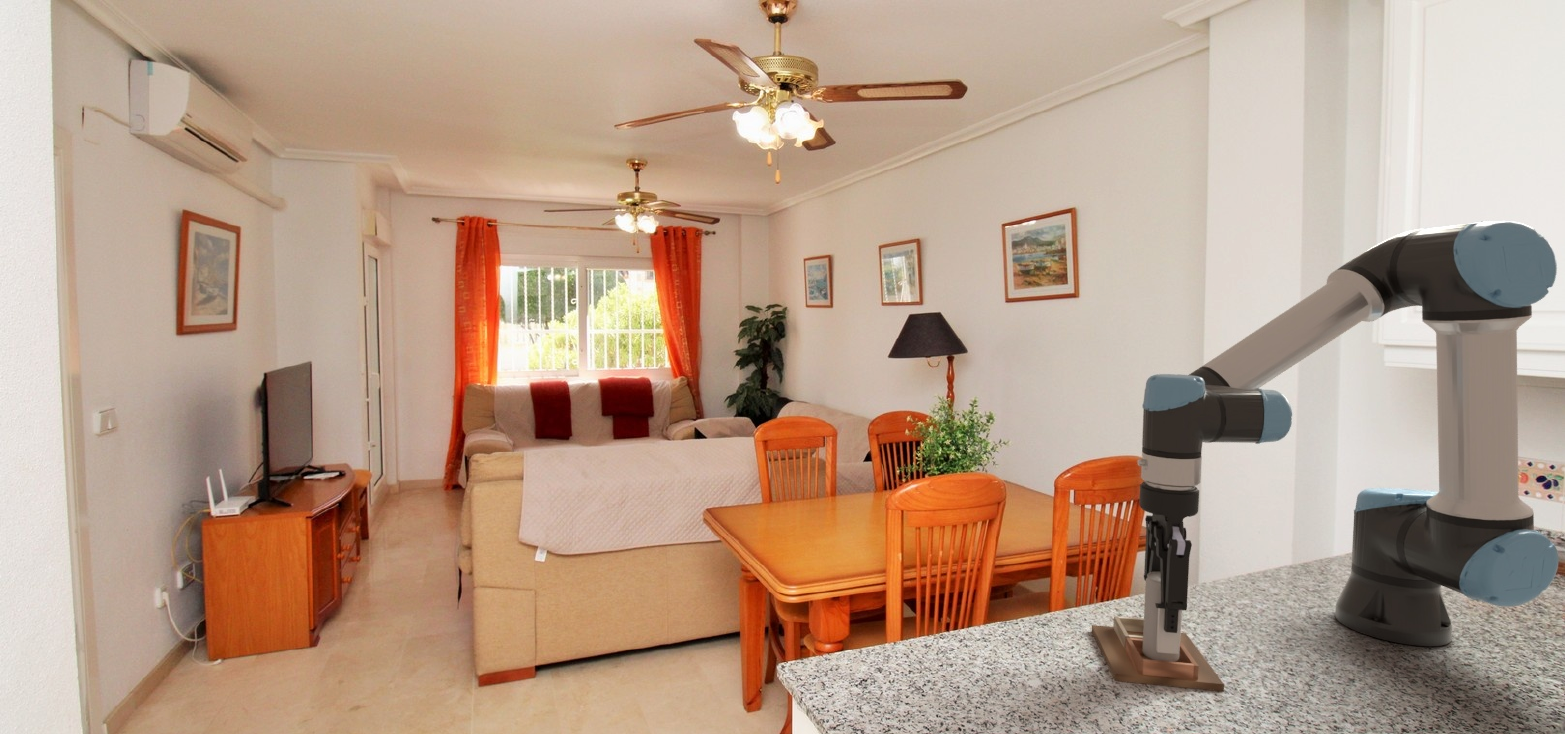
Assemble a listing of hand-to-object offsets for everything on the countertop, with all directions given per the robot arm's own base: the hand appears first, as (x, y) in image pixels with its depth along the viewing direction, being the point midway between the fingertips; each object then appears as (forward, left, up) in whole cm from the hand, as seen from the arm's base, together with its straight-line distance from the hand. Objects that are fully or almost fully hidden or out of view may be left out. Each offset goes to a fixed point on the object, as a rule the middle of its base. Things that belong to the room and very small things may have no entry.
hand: (1161, 643), depth 112 cm
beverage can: (0, 0, -2) cm, 2 cm away
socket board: (0, -4, -4) cm, 6 cm away
